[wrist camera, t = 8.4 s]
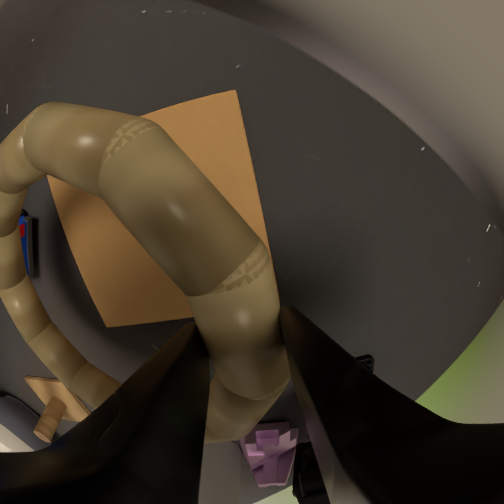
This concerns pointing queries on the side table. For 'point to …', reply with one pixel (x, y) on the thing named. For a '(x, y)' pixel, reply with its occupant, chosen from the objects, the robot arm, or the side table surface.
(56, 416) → the ring toss peg
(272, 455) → the purple jagged faceted chunk
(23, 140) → the segmented tan ring
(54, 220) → the side table surface
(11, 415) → the bowl
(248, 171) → the mat
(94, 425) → the robot arm
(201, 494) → the cup
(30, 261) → the toy car
